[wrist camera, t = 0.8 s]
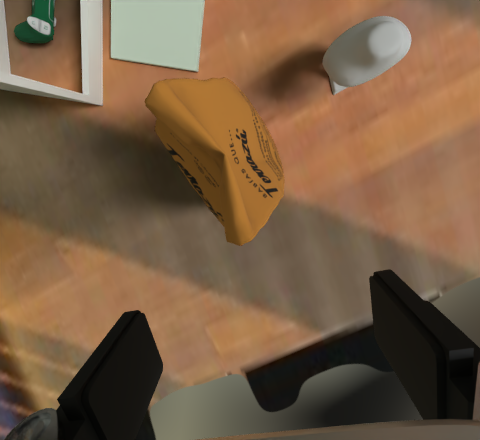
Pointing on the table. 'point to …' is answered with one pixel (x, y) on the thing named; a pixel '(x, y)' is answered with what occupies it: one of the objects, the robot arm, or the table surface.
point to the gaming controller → (38, 23)
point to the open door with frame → (90, 60)
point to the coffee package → (220, 150)
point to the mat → (157, 32)
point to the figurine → (366, 51)
